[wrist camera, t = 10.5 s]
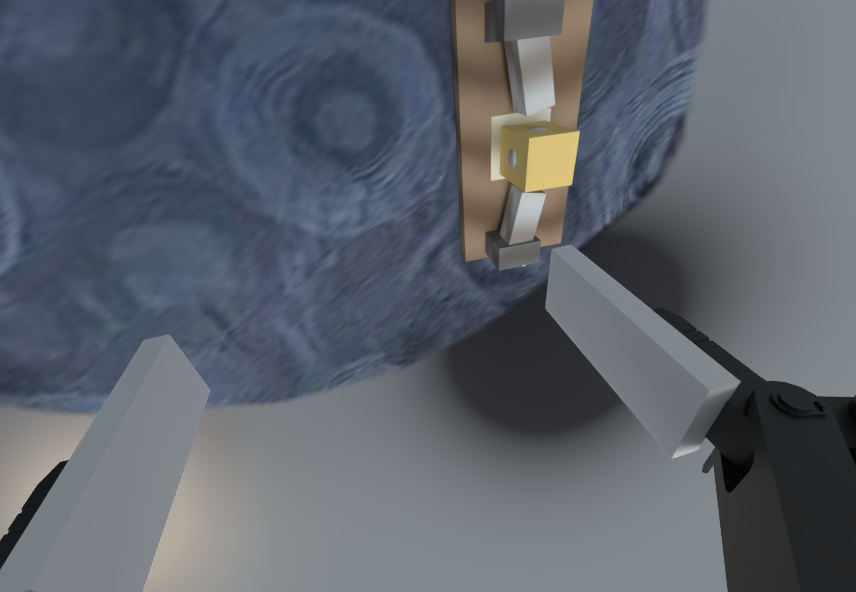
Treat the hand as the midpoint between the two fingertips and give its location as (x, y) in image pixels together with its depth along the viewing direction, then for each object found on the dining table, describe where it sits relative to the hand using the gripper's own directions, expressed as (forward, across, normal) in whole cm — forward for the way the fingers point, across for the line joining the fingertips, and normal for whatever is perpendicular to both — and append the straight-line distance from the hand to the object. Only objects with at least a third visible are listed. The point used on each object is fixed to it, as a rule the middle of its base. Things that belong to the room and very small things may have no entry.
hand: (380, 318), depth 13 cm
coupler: (+24, +17, -2) cm, 30 cm away
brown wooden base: (+26, +17, -2) cm, 31 cm away
